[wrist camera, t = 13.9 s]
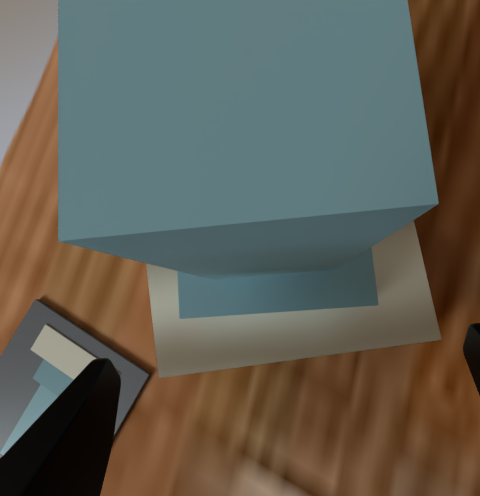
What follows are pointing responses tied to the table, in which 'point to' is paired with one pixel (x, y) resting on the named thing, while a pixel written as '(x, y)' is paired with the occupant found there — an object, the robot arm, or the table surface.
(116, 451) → the table surface
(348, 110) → the teal block
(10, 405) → the slate card
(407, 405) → the table surface
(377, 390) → the table surface
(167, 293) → the cream base block
